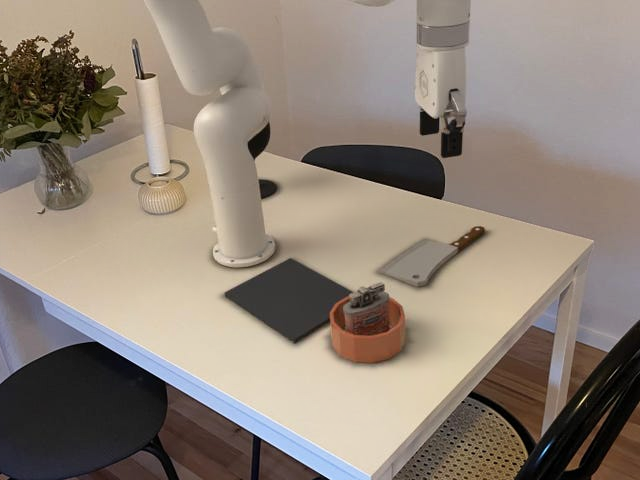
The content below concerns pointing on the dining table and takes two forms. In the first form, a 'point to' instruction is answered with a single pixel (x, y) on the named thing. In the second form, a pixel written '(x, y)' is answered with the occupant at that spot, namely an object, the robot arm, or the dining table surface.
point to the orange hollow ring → (368, 346)
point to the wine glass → (256, 149)
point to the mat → (289, 298)
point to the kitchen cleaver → (427, 258)
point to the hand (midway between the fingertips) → (439, 144)
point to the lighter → (367, 311)
